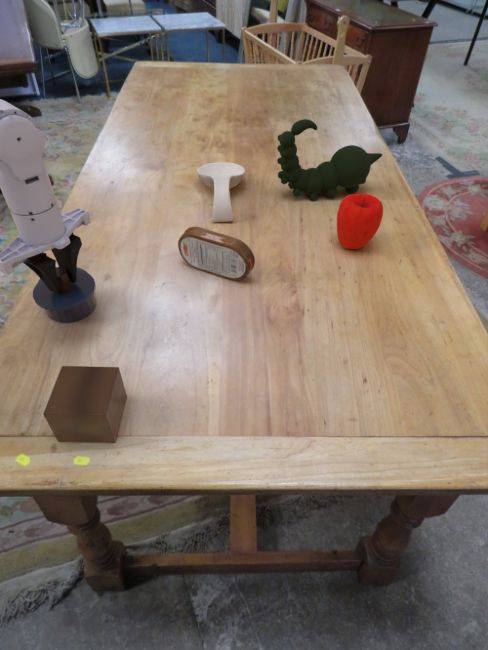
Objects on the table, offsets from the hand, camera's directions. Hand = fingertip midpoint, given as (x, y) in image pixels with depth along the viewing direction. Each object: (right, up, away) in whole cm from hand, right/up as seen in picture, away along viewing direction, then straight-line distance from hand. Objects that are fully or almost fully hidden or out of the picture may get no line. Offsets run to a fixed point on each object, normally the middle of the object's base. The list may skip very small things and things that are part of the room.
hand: (62, 285), depth 65 cm
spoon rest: (+22, +25, +39) cm, 51 cm away
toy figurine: (+47, +26, +41) cm, 68 cm away
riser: (+6, -19, -5) cm, 20 cm away
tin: (+22, +4, +18) cm, 29 cm away
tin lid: (0, -1, +1) cm, 1 cm away
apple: (+50, +11, +26) cm, 57 cm away
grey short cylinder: (-3, -3, +11) cm, 11 cm away
